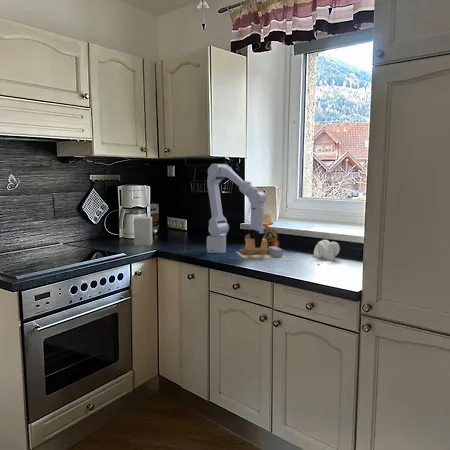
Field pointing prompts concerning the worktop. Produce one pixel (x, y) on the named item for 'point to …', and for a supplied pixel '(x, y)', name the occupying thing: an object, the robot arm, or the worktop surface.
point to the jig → (255, 254)
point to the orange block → (251, 244)
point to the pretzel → (326, 250)
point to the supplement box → (143, 231)
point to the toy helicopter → (268, 236)
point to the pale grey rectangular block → (275, 251)
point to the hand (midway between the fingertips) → (255, 246)
